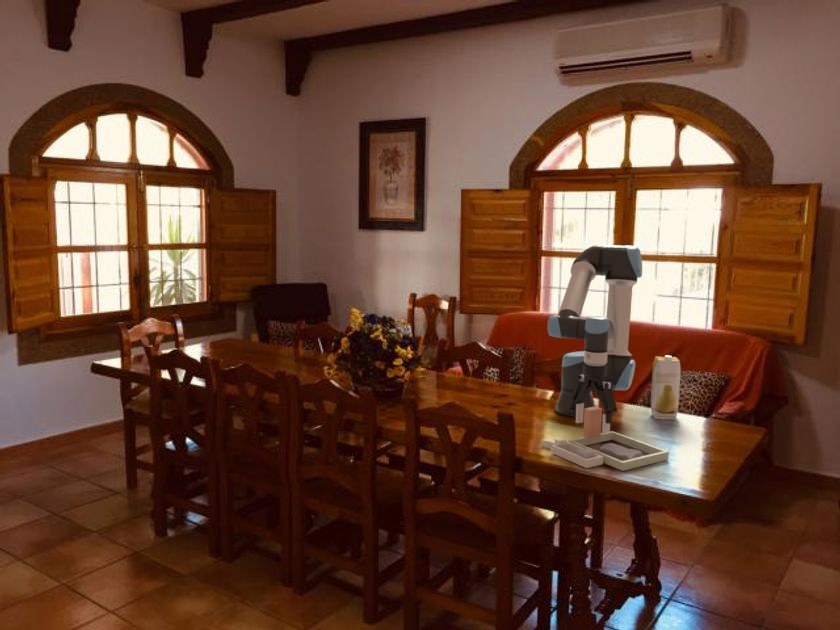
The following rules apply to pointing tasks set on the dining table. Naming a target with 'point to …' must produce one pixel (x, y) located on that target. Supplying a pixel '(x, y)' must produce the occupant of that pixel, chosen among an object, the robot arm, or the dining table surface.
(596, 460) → the tray
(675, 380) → the juice carton
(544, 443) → the snapped post
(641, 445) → the shallow white tray
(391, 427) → the dining table surface
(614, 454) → the stone block
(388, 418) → the dining table surface
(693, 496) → the dining table surface
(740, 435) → the dining table surface
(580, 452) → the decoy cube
